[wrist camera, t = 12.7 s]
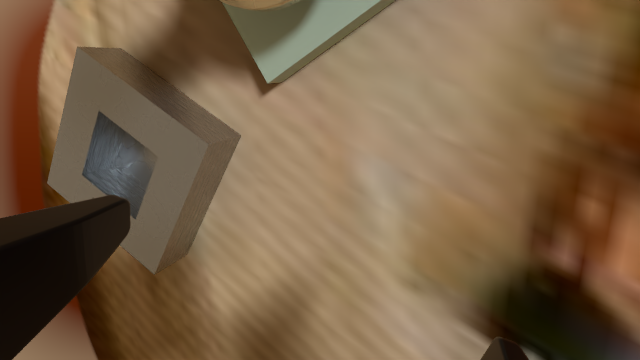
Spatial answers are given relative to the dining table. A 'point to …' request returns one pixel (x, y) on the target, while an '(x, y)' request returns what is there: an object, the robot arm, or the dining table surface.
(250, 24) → the pad
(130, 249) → the bore block
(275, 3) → the metallic flared cylinder
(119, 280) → the dining table surface
